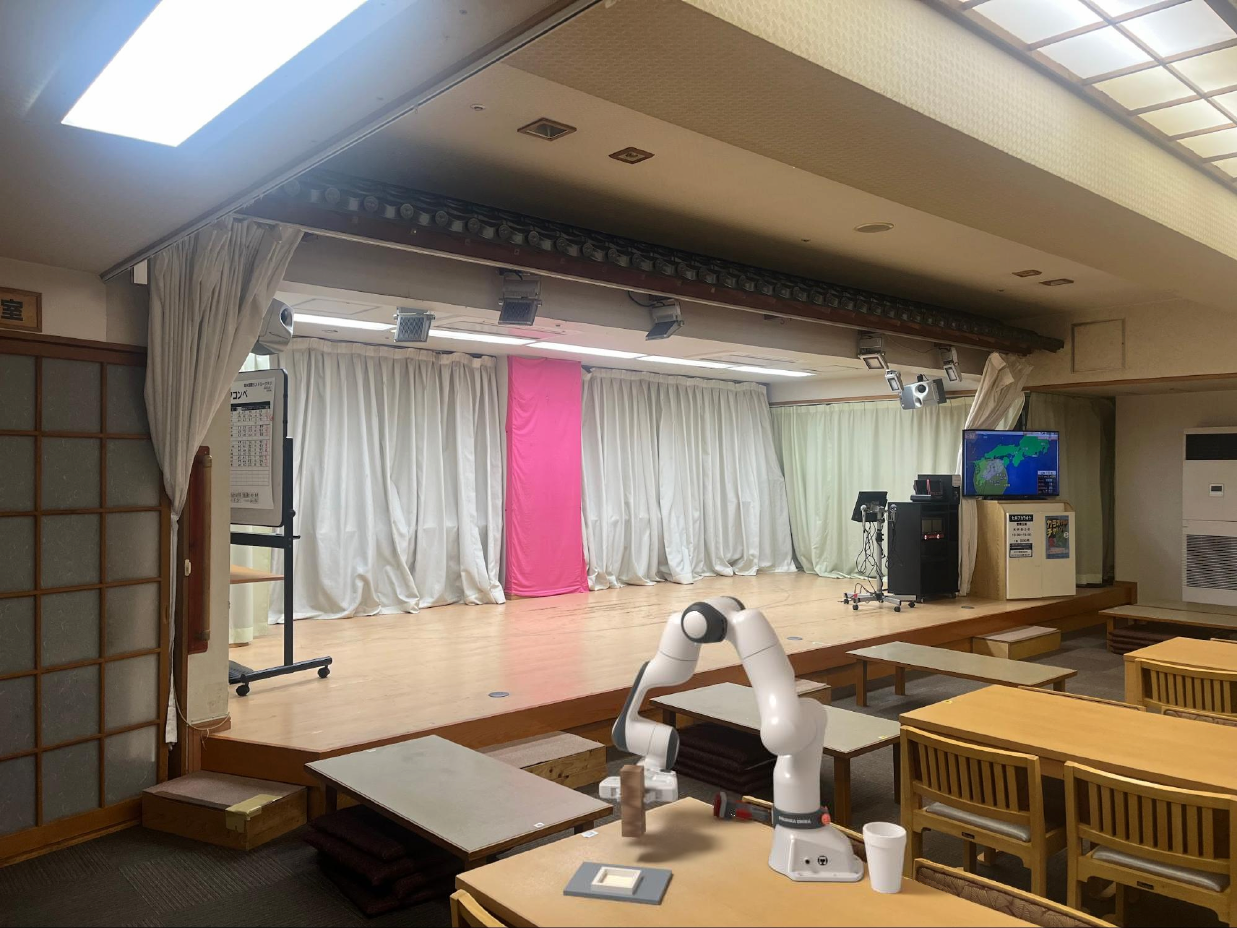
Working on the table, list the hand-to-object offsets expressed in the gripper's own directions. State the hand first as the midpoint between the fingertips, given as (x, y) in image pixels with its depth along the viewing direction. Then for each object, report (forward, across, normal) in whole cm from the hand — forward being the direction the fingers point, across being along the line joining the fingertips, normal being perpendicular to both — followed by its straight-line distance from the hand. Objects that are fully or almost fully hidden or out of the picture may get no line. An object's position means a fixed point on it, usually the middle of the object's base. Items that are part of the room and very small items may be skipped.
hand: (632, 799), depth 212 cm
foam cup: (+1, +59, +16) cm, 62 cm away
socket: (+15, 0, +15) cm, 21 cm away
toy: (-36, +22, +16) cm, 45 cm away
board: (+13, 0, +15) cm, 20 cm away
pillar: (-1, 0, +9) cm, 9 cm away
